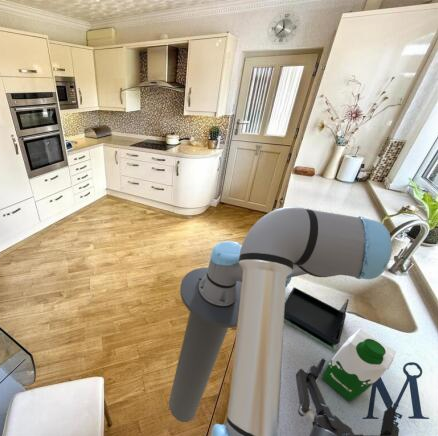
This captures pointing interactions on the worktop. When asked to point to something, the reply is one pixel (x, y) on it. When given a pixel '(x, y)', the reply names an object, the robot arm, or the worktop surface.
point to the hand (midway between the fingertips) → (353, 384)
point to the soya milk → (358, 364)
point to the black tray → (315, 318)
